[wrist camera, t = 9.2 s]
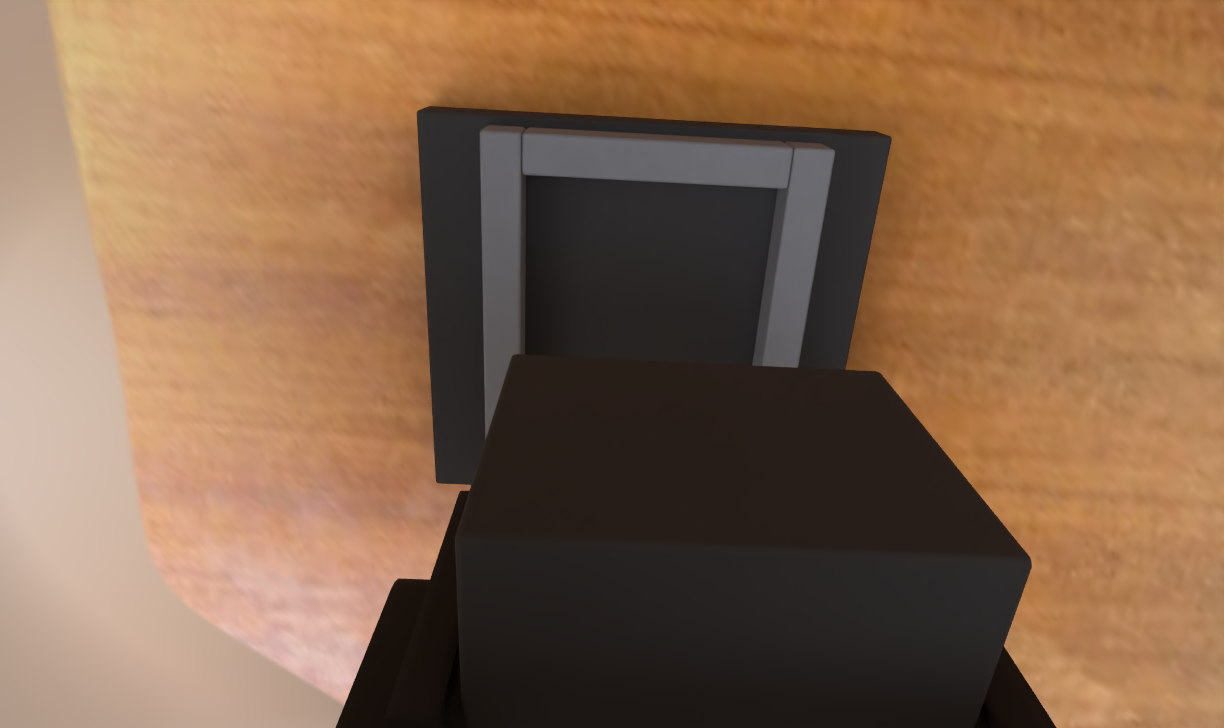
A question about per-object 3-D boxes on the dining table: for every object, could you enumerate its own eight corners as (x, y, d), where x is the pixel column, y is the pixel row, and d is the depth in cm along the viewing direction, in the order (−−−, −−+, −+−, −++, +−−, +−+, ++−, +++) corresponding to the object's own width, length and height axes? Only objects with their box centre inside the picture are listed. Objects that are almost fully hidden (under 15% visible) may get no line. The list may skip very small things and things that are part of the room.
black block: (512, 724, 13) (472, 1003, 9) (511, 352, 10) (452, 536, 6) (800, 735, 13) (875, 1014, 9) (880, 369, 10) (1037, 562, 6)
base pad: (443, 463, 24) (426, 506, 22) (426, 105, 19) (403, 114, 17) (810, 479, 24) (830, 523, 22) (877, 131, 20) (911, 142, 17)
